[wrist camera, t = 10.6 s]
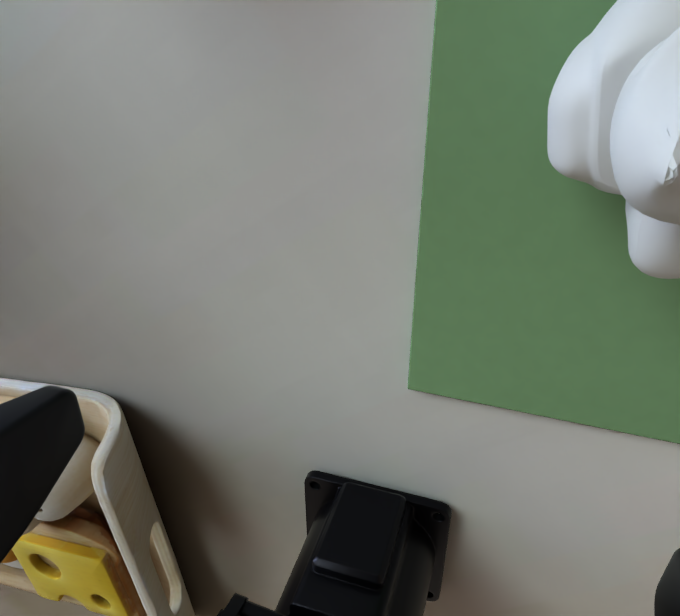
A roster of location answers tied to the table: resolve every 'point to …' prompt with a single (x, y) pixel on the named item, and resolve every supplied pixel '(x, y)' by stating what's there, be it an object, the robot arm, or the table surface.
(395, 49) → the table surface
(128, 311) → the table surface
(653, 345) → the cloth
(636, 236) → the white animal figurine
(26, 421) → the robot arm
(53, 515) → the toy food set
